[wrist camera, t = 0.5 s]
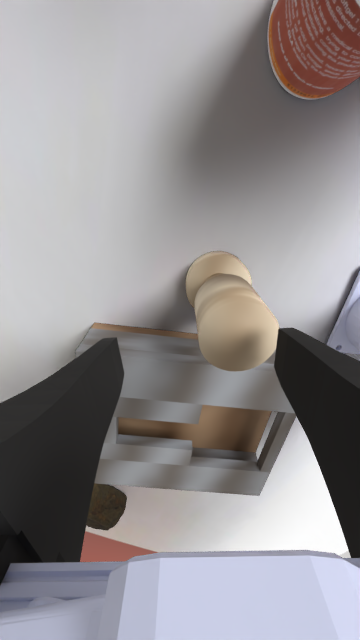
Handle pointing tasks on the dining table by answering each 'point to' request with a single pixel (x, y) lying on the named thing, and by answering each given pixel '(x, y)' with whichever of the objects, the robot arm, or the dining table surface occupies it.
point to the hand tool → (105, 507)
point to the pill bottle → (314, 45)
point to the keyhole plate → (188, 416)
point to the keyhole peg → (229, 313)
